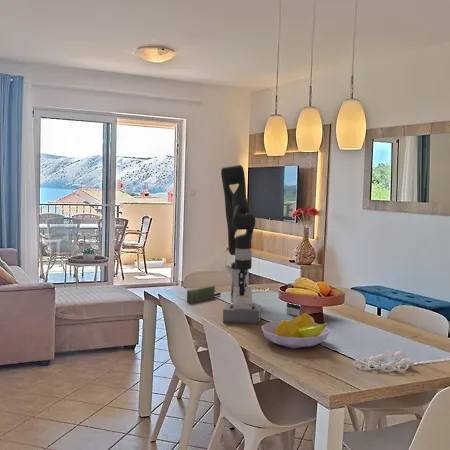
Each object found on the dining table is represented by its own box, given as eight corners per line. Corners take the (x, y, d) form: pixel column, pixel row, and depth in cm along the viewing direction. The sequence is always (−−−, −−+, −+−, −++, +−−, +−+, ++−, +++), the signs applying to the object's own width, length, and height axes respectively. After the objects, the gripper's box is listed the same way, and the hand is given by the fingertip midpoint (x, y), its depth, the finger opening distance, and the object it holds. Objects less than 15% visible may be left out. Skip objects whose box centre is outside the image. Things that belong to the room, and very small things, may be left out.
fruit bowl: (250, 337, 228) (250, 310, 227) (308, 331, 238) (309, 305, 237) (282, 358, 202) (282, 327, 201) (346, 350, 212) (347, 321, 211)
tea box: (301, 317, 262) (302, 286, 261) (285, 313, 270) (286, 283, 269) (322, 312, 272) (323, 282, 271) (306, 309, 280) (307, 279, 278)
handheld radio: (185, 302, 292) (217, 295, 311) (190, 303, 290) (222, 296, 309) (186, 290, 292) (218, 283, 310) (190, 291, 289) (222, 284, 308)
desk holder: (226, 316, 263) (226, 303, 263) (260, 317, 261) (260, 305, 260) (222, 322, 251) (223, 309, 251) (258, 324, 249) (258, 311, 249)
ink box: (252, 316, 258) (252, 285, 257) (251, 319, 254) (251, 287, 252) (233, 316, 259) (233, 284, 258) (232, 318, 255) (232, 286, 253)
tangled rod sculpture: (362, 379, 186) (362, 367, 185) (348, 361, 200) (348, 350, 199) (418, 376, 188) (419, 364, 187) (401, 358, 202) (401, 347, 201)
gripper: (236, 255, 261) (236, 290, 263) (233, 260, 247) (232, 296, 249) (252, 256, 260) (252, 290, 262) (250, 260, 246) (249, 297, 248)
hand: (242, 293), depth 255 cm, fingers open, 8 cm apart
